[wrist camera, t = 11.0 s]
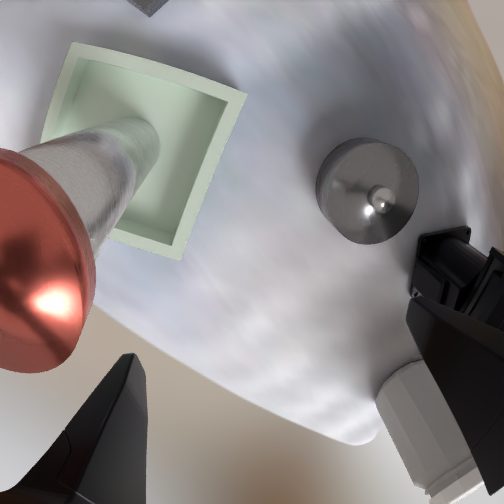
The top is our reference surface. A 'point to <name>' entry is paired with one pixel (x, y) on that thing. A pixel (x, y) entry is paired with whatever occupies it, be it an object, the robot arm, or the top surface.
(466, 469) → the jar
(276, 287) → the top surface
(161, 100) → the tray
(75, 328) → the pin
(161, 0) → the tensioner block
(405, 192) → the disc
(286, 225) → the top surface
